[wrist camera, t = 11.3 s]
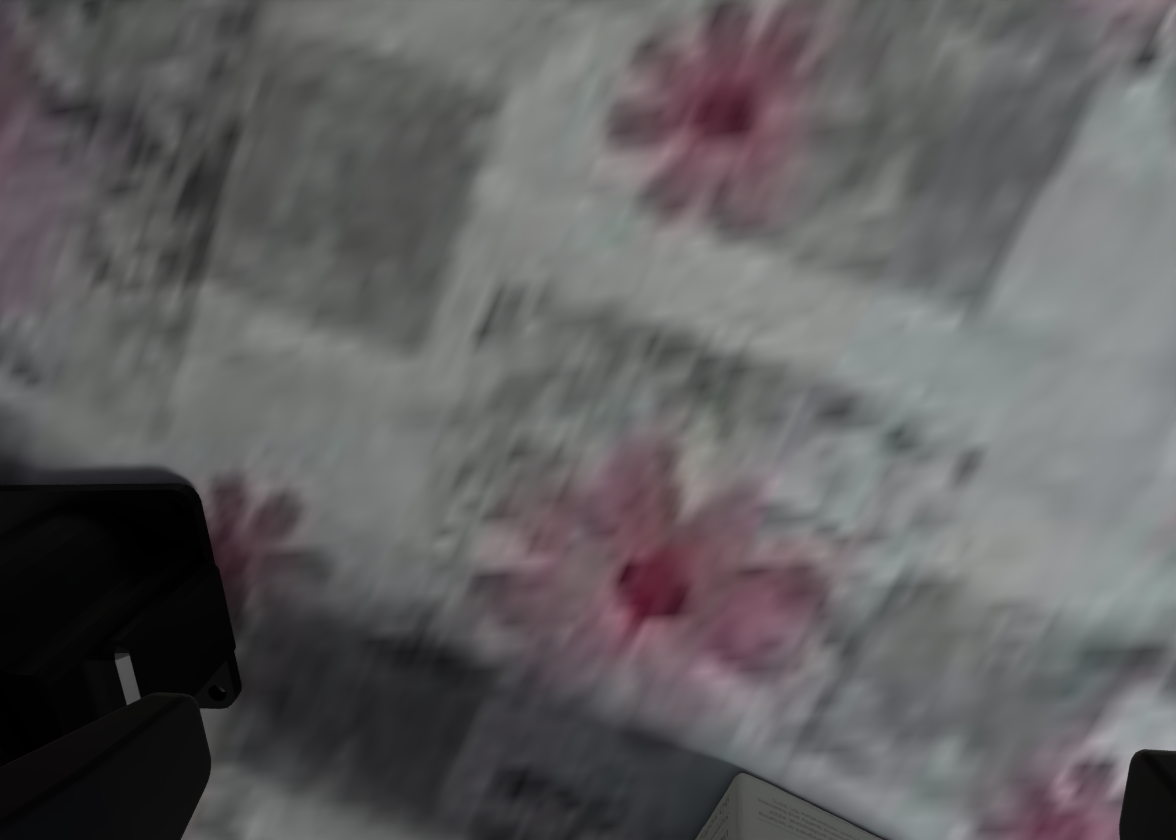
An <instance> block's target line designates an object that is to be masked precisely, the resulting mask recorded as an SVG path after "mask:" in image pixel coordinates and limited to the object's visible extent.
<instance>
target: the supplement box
mask: <svg viewBox="0 0 1176 840" xmlns="http://www.w3.org/2000/svg"><path fill="white" fill-rule="evenodd" d="M695 840H883V839H880V838H878V837H876V836H874V835H872V834H870V833H868V832H866V831H864V830H862V829H860V828H858V827H856V826H854V825H852V824H850V823H848V822H846V821H844V820H842V819H840V818H838V817H836V816H834V815H832V814H830V813H828V812H826V811H823V810H821V809H819V808H817V807H815V806H813V805H812V804H810V803H808V802H806V801H803V800H801V799H799V798H797V797H795V796H793V795H791V794H789V793H787V792H784V791H783V790H781V789H779V788H777V787H775V786H773V785H770V784H769V783H767V782H765V781H762V780H760V779H757V778H755V777H753V776H750V775H748V774H745V773H739V774H738V775H737V776H735V778H734V779H733V781H732V783H731V784H730V786H729V788H728V789H727V791H726V793H725V794H724V796H723V797H722V799H721V801H720V802H719V804H718V805H717V807H716V808H715V810H714V812H713V813H712V815H711V816H710V818H709V820H708V821H707V822H706V824H705V825H704V827H703V828H702V830H701V831H700V833H699V834H698V836H697V837H696V839H695Z"/></svg>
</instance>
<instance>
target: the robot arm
mask: <svg viewBox="0 0 1176 840" xmlns="http://www.w3.org/2000/svg"><path fill="white" fill-rule="evenodd" d="M174 499H177V500H179V501H180V502H181V503H182V505H183V507H184V510H180V509H179V508H178V507H177V506H176V505H175V503H174ZM235 648H236V645H235V640H234V636H233V631H232V626H231V622H230V617H229V613H228V608H227V603H226V599H225V594H224V590H223V585H222V580H221V576H220V571H219V568H218V567H217V566H216V564H215V561H214V557H213V552H212V548H211V543H210V538H209V534H208V529H207V525H206V520H205V516H204V511H203V506H202V502H201V499H200V497H199V494H198V493H197V492H196V491H195V490H194V489H193V488H191V487H190V486H188V485H185V484H180V483H169V484H90V485H10V486H0V840H181V838H182V836H183V834H184V831H185V829H186V827H187V825H188V823H189V821H190V819H191V817H192V815H193V813H194V810H195V808H196V806H197V804H198V802H199V800H200V798H201V796H202V794H203V792H204V789H205V787H206V785H207V782H208V780H209V776H210V771H211V755H210V751H209V747H208V743H207V738H206V734H205V730H204V726H203V721H202V717H201V713H200V709H199V708H210V709H222V708H227V707H229V706H230V705H232V704H233V702H234V701H235V700H236V699H237V697H238V696H239V694H240V693H241V691H242V685H241V680H240V676H239V671H238V666H237V662H236V657H235V653H234V650H235ZM216 685H217V686H220V687H222V688H223V689H224V690H225V692H223V691H221V690H219V689H218V688H217V686H216ZM1119 835H1120V840H1176V751H1166V750H1148V749H1143V750H1140V751H1138V752H1136V753H1135V754H1134V756H1133V757H1132V759H1131V762H1130V766H1129V772H1128V777H1127V783H1126V788H1125V794H1124V800H1123V805H1122V811H1121V816H1120V823H1119Z"/></svg>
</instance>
